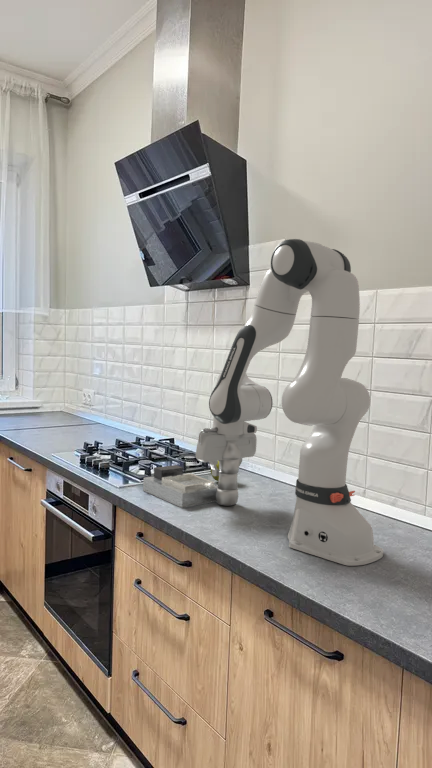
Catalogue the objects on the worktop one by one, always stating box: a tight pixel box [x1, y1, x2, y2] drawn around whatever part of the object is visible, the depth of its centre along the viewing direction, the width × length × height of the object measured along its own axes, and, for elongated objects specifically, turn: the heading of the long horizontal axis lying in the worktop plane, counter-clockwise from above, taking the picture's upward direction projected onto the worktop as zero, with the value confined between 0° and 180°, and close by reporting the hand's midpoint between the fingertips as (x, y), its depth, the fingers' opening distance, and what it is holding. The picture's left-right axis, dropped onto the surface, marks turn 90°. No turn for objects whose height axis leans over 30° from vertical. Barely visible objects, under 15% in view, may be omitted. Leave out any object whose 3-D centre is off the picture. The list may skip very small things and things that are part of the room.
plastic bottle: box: [216, 440, 241, 507], centre depth 152 cm, size 6×7×20 cm
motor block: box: [142, 464, 218, 509], centre depth 160 cm, size 23×14×7 cm, turn 40°
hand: (225, 474), depth 153 cm, fingers open, 6 cm apart
